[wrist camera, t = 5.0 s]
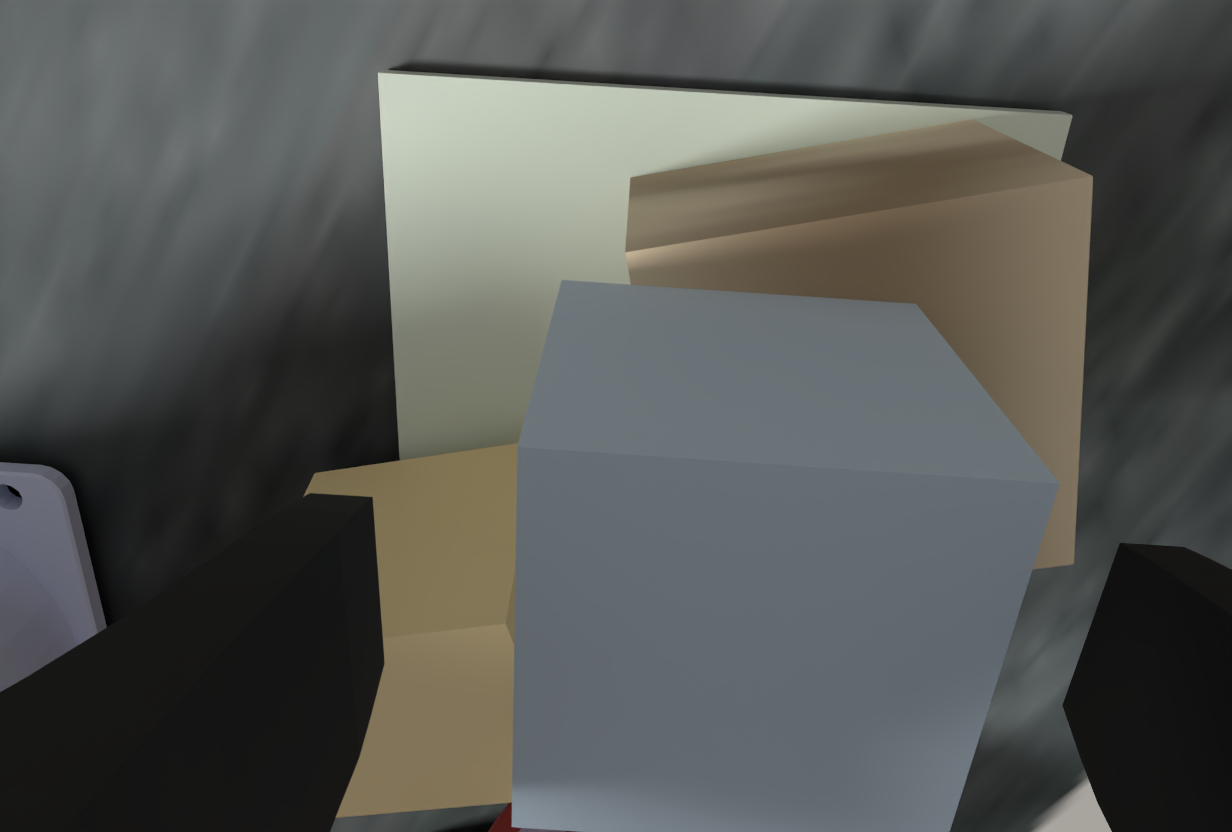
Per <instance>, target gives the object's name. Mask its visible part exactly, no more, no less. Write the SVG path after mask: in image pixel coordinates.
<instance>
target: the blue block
mask: <svg viewBox="0 0 1232 832" xmlns="http://www.w3.org/2000/svg"><path fill="white" fill-rule="evenodd" d="M1059 484H1060V483H1059V482H1058V480H1057V479H1056V478H1055V477H1054V475H1053V474H1052V473H1051V472H1050V470H1049V469H1048V468H1047V467H1046V465H1045V464H1044V463H1043V462H1042V460H1041V459H1040V458H1039V457H1038V455H1037V454H1036V453H1035V452H1034V450H1033V449H1032V448H1031V447H1030V445H1029V444H1028V443H1027V442H1026V440H1025V439H1024V438H1023V437H1022V435H1021V434H1020V433H1019V432H1018V430H1017V429H1016V428H1015V427H1014V425H1013V424H1012V423H1011V422H1010V420H1009V419H1008V418H1007V417H1006V415H1005V414H1004V413H1003V412H1002V410H1001V409H1000V408H999V407H998V405H997V404H996V403H995V402H994V400H993V399H992V398H991V397H990V395H989V394H988V393H987V392H986V390H985V389H984V388H983V387H982V385H981V384H980V383H979V382H978V380H977V379H976V378H975V377H974V375H973V374H972V373H971V372H970V370H969V369H968V368H967V367H966V365H965V364H964V363H963V362H962V360H961V359H960V358H959V357H958V355H957V354H956V353H955V352H954V350H953V349H952V348H951V347H950V345H949V344H948V343H947V342H946V340H945V339H944V338H943V337H942V335H941V334H940V333H939V332H938V330H937V329H936V328H935V327H934V325H933V324H932V323H931V322H930V320H929V319H928V318H927V317H926V315H925V314H924V313H923V312H922V310H921V309H920V308H919V307H918V305H917V304H912V303H897V302H882V301H867V300H852V299H837V298H823V297H808V296H793V295H778V294H763V293H748V292H733V291H719V290H704V289H689V288H674V287H659V286H644V285H630V284H615V283H600V282H585V281H570V280H562V281H561V285H560V288H559V292H558V296H557V300H556V303H555V307H554V311H553V315H552V318H551V322H550V326H549V330H548V333H547V337H546V341H545V345H544V349H543V352H542V356H541V360H540V364H539V367H538V371H537V375H536V379H535V382H534V386H533V390H532V394H531V398H530V401H529V405H528V409H527V413H526V416H525V420H524V424H523V428H522V431H521V435H520V439H519V443H518V447H517V505H516V570H515V635H514V701H513V766H512V827H517V828H532V829H547V830H562V831H577V832H950V829H951V826H952V823H953V820H954V817H955V813H956V810H957V807H958V804H959V801H960V798H961V794H962V791H963V788H964V785H965V782H966V779H967V775H968V772H969V769H970V766H971V763H972V760H973V756H974V753H975V750H976V747H977V744H978V741H979V737H980V734H981V731H982V728H983V725H984V722H985V718H986V715H987V712H988V709H989V706H990V703H991V700H992V696H993V693H994V690H995V687H996V684H997V681H998V677H999V674H1000V671H1001V668H1002V665H1003V662H1004V658H1005V655H1006V652H1007V649H1008V646H1009V643H1010V639H1011V636H1012V633H1013V630H1014V627H1015V624H1016V620H1017V617H1018V614H1019V611H1020V608H1021V605H1022V601H1023V598H1024V595H1025V592H1026V589H1027V586H1028V582H1029V579H1030V576H1031V573H1032V570H1033V567H1034V563H1035V560H1036V557H1037V554H1038V551H1039V548H1040V544H1041V541H1042V538H1043V535H1044V532H1045V529H1046V525H1047V522H1048V519H1049V516H1050V513H1051V510H1052V506H1053V503H1054V500H1055V497H1056V494H1057V491H1058V488H1059Z"/></svg>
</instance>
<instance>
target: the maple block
mask: <svg viewBox="0 0 1232 832" xmlns="http://www.w3.org/2000/svg"><path fill="white" fill-rule="evenodd" d="M1092 190H1093V176H1092V175H1090V174H1087V173H1085V172H1083V171H1081V170H1079V169H1077V168H1075V167H1073V166H1071V165H1068V164H1066V163H1064V162H1062V161H1060V160H1058V159H1056V158H1054V157H1051V156H1049V155H1047V154H1045V153H1043V152H1041V151H1039V150H1037V149H1035V148H1032V147H1030V146H1028V145H1026V144H1024V143H1022V142H1020V141H1018V140H1015V139H1013V138H1011V137H1009V136H1007V135H1005V134H1003V133H1001V132H998V131H996V130H994V129H992V128H990V127H988V126H986V125H984V124H982V123H979V122H977V121H975V120H973V119H970V120H964V121H958V122H952V123H946V124H940V125H935V126H929V127H923V128H917V129H911V130H905V131H900V132H894V133H888V134H882V135H876V136H870V137H864V138H859V139H853V140H847V141H841V142H835V143H829V144H824V145H818V146H812V147H806V148H800V149H794V150H788V151H783V152H777V153H771V154H765V155H759V156H753V157H748V158H742V159H736V160H730V161H724V162H718V163H712V164H707V165H701V166H695V167H689V168H683V169H677V170H671V171H666V172H660V173H654V174H648V175H642V176H636V177H631V178H630V190H629V204H628V218H627V233H626V247H625V255H626V260H627V266H628V272H629V277H630V283H631V285H644V286H659V287H674V288H689V289H704V290H719V291H733V292H748V293H763V294H778V295H793V296H808V297H823V298H837V299H852V300H867V301H882V302H897V303H912V304H917V305H918V307H919V308H920V309H921V310H922V312H923V313H924V314H925V315H926V317H927V318H928V319H929V320H930V322H931V323H932V324H933V325H934V327H935V328H936V329H937V330H938V332H939V333H940V334H941V335H942V337H943V338H944V339H945V340H946V342H947V343H948V344H949V345H950V347H951V348H952V349H953V350H954V352H955V353H956V354H957V355H958V357H959V358H960V359H961V360H962V362H963V363H964V364H965V365H966V367H967V368H968V369H969V370H970V372H971V373H972V374H973V375H974V377H975V378H976V379H977V380H978V382H979V383H980V384H981V385H982V387H983V388H984V389H985V390H986V392H987V393H988V394H989V395H990V397H991V398H992V399H993V400H994V402H995V403H996V404H997V405H998V407H999V408H1000V409H1001V410H1002V412H1003V413H1004V414H1005V415H1006V417H1007V418H1008V419H1009V420H1010V422H1011V423H1012V424H1013V425H1014V427H1015V428H1016V429H1017V430H1018V432H1019V433H1020V434H1021V435H1022V437H1023V438H1024V439H1025V440H1026V442H1027V443H1028V444H1029V445H1030V447H1031V448H1032V449H1033V450H1034V452H1035V453H1036V454H1037V455H1038V457H1039V458H1040V459H1041V460H1042V462H1043V463H1044V464H1045V465H1046V467H1047V468H1048V469H1049V470H1050V472H1051V473H1052V474H1053V475H1054V477H1055V478H1056V479H1057V480H1058V482H1059V483H1060V484H1059V488H1058V491H1057V494H1056V497H1055V500H1054V503H1053V506H1052V510H1051V513H1050V516H1049V519H1048V522H1047V525H1046V529H1045V532H1044V535H1043V538H1042V541H1041V544H1040V548H1039V551H1038V554H1037V557H1036V560H1035V563H1034V567H1033V569H1041V568H1049V567H1057V566H1066V565H1074V551H1075V531H1076V511H1077V491H1078V471H1079V451H1080V431H1081V411H1082V391H1083V370H1084V350H1085V330H1086V310H1087V290H1088V270H1089V250H1090V230H1091V210H1092Z"/></svg>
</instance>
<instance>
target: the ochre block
mask: <svg viewBox="0 0 1232 832" xmlns="http://www.w3.org/2000/svg"><path fill="white" fill-rule="evenodd" d="M517 447H518V443H516V444H509V445H502V446H495V447H488V448H482V449H475V450H468V451H461V452H454V453H448V454H441V455H434V456H427V457H420V458H414V459H407V460H400V461H393V462H386V463H380V464H373V465H366V466H359V467H352V468H346V469H339V470H332V471H325V472H318V473H314V476H313V478H312V480H311V482H310V484H309V486H308V488H307V490H306V492H305V494H304V496H306V495H307V494H309V493H317V494H334V495H350V496H366V497H373V509H374V523H375V537H376V551H377V565H378V578H379V592H380V606H381V620H382V634H383V648H384V662H385V664H384V668H383V671H382V675H381V679H380V683H379V687H378V691H377V695H376V699H375V702H374V706H373V710H372V714H371V718H370V721H369V725H368V728H367V732H366V736H365V739H364V743H363V746H362V750H361V753H360V757H359V760H358V762H357V765H356V767H355V770H354V772H353V775H352V778H351V780H350V783H349V785H348V788H347V790H346V793H345V795H344V798H343V800H342V803H341V805H340V808H339V810H338V813H337V815H336V818H339V817H350V816H362V815H373V814H385V813H396V812H408V811H419V810H431V809H442V808H454V807H465V806H477V805H488V804H500V803H511V802H512V766H513V701H514V635H515V570H516V505H517ZM304 496H303V497H304Z"/></svg>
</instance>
